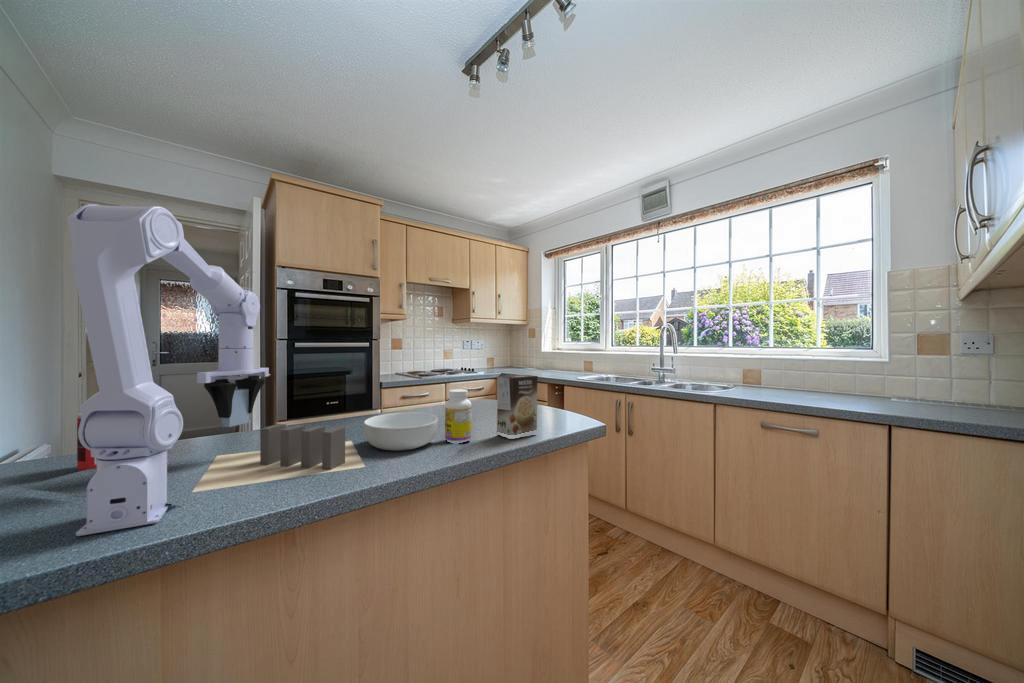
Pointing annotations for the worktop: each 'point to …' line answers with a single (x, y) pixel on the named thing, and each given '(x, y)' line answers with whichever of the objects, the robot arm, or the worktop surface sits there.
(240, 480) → the board
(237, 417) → the tile blue
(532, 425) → the dessert mix box
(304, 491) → the worktop surface
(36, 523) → the worktop surface
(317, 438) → the tile
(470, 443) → the worktop surface
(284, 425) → the tile
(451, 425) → the supplement bottle
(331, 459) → the tile
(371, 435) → the cereal bowl
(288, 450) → the tile
